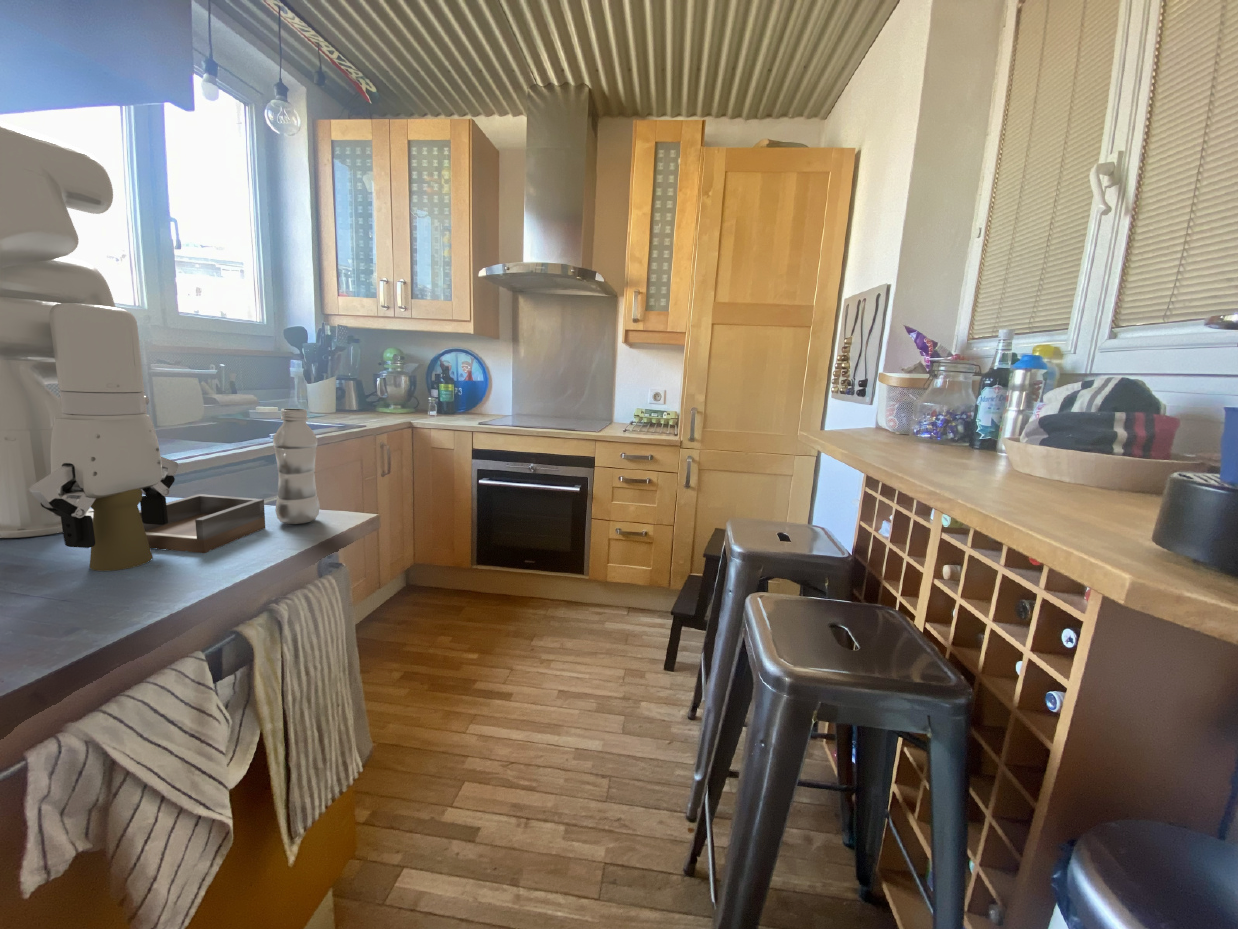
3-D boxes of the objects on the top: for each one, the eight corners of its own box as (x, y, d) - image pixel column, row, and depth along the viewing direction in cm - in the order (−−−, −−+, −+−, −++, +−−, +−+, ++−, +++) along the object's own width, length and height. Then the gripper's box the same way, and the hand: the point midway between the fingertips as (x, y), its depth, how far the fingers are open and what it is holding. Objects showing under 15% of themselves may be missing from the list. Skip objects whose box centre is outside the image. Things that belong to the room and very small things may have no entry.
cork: (113, 573, 63) (103, 490, 61) (76, 566, 64) (66, 484, 62) (164, 557, 69) (157, 481, 67) (130, 551, 70) (122, 476, 68)
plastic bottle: (266, 526, 84) (260, 409, 80) (294, 515, 91) (289, 406, 87) (303, 530, 84) (298, 412, 80) (328, 518, 90) (325, 409, 87)
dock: (130, 547, 72) (126, 513, 71) (201, 522, 83) (199, 494, 82) (204, 553, 71) (202, 520, 71) (265, 527, 83) (263, 499, 82)
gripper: (142, 401, 71) (155, 515, 74) (-11, 407, 54) (13, 555, 57) (193, 404, 71) (204, 518, 74) (55, 412, 54) (76, 559, 57)
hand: (120, 534), depth 66 cm, fingers open, 9 cm apart
